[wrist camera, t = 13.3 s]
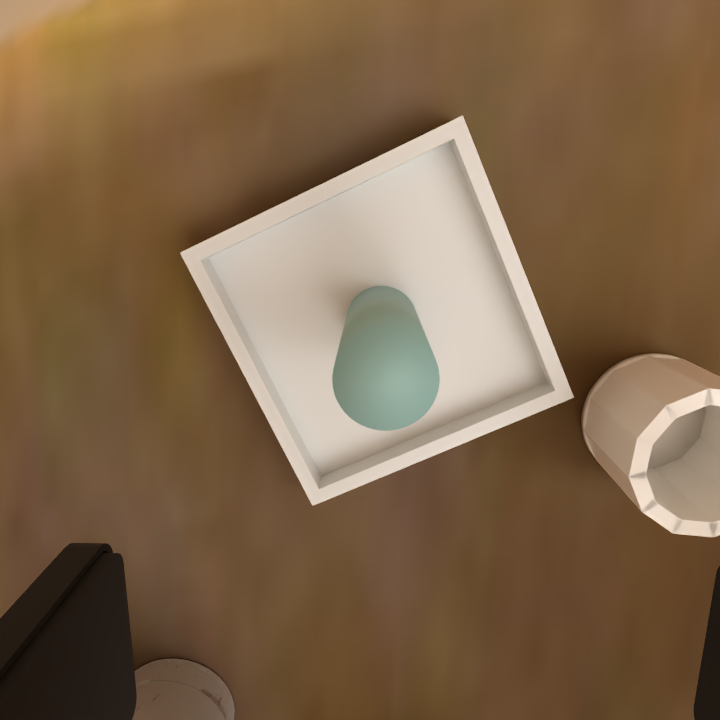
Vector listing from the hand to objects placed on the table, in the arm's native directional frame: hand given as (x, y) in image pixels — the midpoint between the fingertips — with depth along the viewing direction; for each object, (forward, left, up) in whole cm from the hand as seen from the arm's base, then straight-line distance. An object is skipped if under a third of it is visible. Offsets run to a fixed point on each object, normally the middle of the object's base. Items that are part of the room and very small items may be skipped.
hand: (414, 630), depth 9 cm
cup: (-12, +12, -26) cm, 31 cm away
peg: (0, 0, -26) cm, 26 cm away
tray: (0, 0, -26) cm, 26 cm away
